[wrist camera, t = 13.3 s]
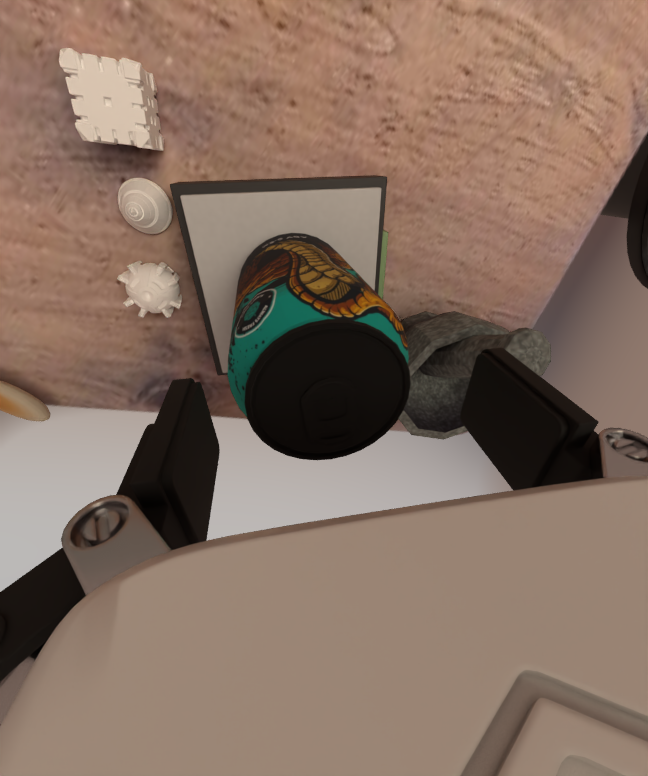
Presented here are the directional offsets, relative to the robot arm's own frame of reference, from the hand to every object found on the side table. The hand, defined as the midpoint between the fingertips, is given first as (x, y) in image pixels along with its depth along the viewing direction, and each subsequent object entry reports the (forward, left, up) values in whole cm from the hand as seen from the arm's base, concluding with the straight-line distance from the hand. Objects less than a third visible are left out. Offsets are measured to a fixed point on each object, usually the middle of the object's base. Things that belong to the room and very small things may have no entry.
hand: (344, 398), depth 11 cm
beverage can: (0, 0, -12) cm, 12 cm away
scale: (+1, 0, -15) cm, 15 cm away
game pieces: (+9, -5, -15) cm, 18 cm away
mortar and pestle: (-10, +6, -15) cm, 19 cm away
